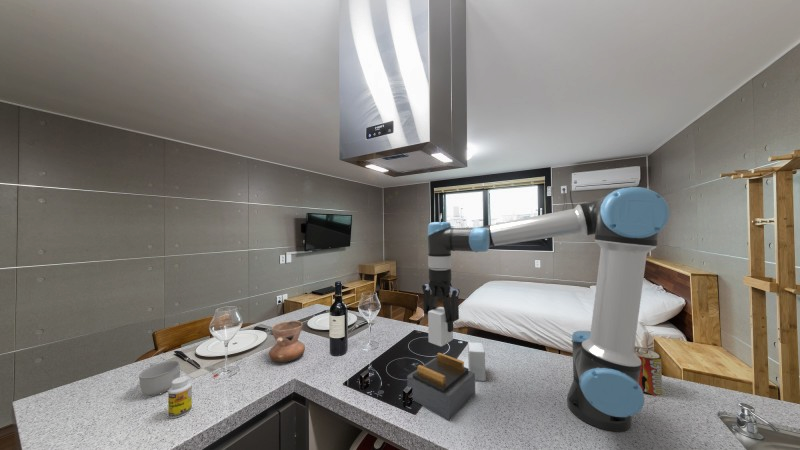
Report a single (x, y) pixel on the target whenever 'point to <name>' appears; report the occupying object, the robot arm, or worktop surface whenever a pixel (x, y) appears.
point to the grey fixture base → (442, 385)
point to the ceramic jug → (287, 341)
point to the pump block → (437, 326)
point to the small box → (477, 360)
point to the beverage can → (649, 371)
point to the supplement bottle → (179, 397)
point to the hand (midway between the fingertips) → (440, 338)
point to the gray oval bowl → (159, 377)
